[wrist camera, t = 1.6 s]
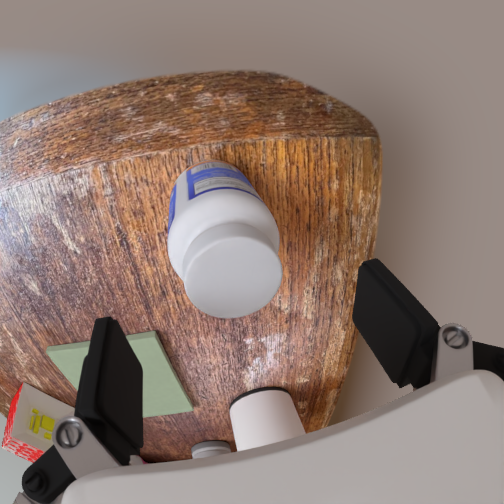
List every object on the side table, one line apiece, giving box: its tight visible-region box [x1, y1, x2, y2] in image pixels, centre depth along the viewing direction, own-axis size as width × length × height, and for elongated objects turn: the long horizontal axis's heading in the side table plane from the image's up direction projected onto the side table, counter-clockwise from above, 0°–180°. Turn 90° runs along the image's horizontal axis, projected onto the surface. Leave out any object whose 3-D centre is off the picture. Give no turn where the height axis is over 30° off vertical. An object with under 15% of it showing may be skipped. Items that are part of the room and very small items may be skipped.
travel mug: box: [191, 441, 231, 459], centre depth 32 cm, size 6×7×20 cm
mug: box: [229, 387, 306, 451], centre depth 32 cm, size 11×9×10 cm
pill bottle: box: [168, 160, 283, 318], centre depth 16 cm, size 5×5×10 cm
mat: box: [46, 331, 194, 417], centre depth 28 cm, size 14×12×1 cm
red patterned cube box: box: [2, 382, 75, 463], centre depth 25 cm, size 8×8×8 cm
